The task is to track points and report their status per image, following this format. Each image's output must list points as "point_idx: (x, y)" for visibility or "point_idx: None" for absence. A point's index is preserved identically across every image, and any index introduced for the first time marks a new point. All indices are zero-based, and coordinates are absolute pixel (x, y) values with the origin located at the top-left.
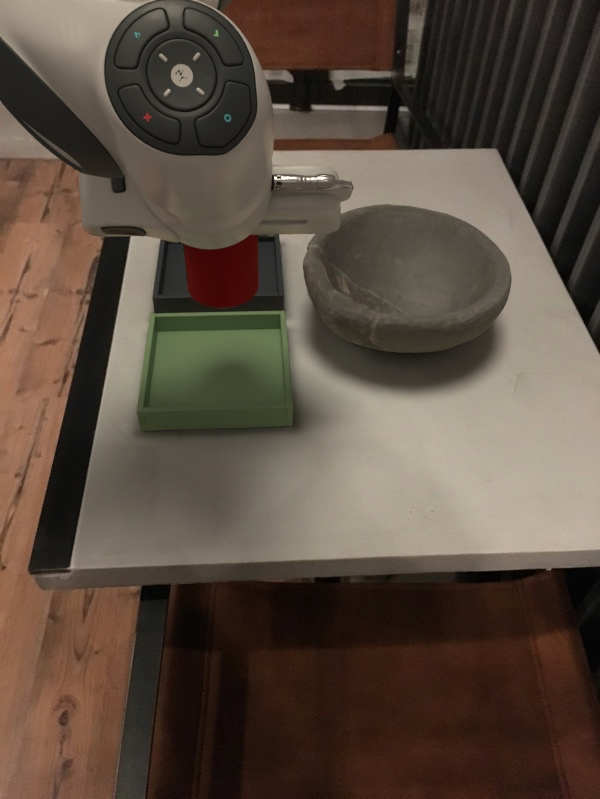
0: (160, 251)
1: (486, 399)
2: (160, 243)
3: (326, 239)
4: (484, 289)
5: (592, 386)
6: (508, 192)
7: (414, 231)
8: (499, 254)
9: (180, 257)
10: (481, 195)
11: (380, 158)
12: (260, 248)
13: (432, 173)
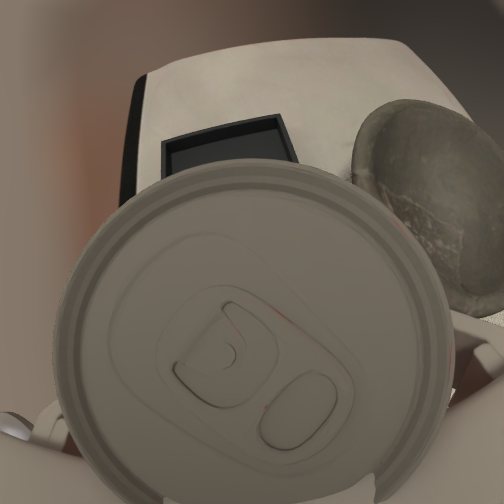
0: (162, 175)
1: (499, 312)
2: (161, 164)
3: (372, 155)
4: None
5: None
6: (433, 74)
7: (436, 129)
8: None
9: (185, 169)
10: (420, 74)
11: (334, 42)
12: (265, 139)
13: (378, 54)
